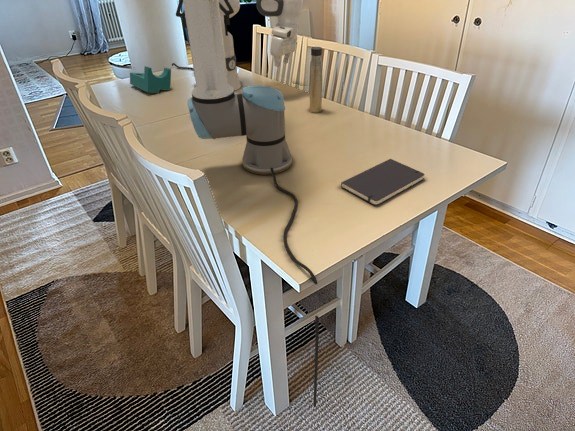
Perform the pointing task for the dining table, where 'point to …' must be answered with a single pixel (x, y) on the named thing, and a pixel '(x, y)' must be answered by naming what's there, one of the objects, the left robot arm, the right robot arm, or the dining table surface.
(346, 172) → the dining table surface
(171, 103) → the dining table surface
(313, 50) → the cap
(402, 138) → the dining table surface
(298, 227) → the dining table surface
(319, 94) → the bottle
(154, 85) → the green notched holder
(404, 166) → the notebook
